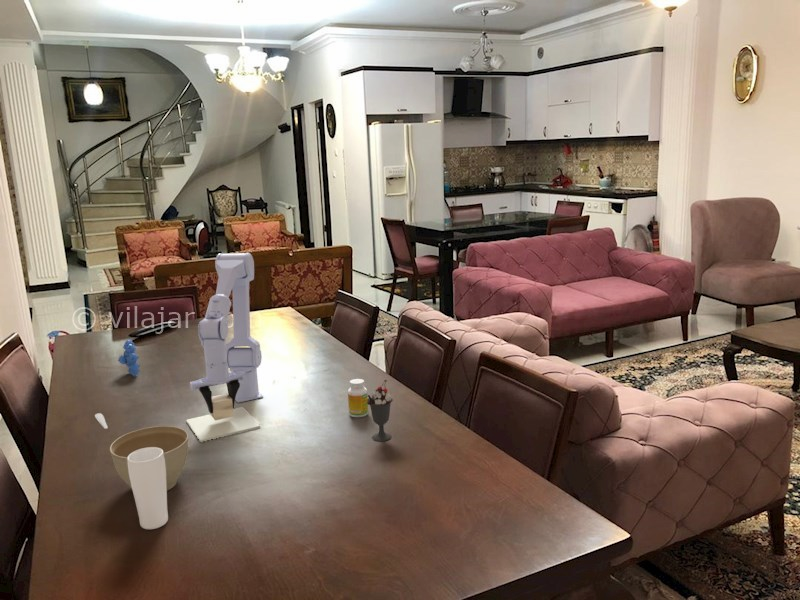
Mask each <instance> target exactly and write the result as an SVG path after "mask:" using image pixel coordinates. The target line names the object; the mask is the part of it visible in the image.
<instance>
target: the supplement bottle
mask: <svg viewBox="0 0 800 600" xmlns="http://www.w3.org/2000/svg"><path fill="white" fill-rule="evenodd" d="M368 395H369V394H368V389H367V388H366V387H365V380H364V379H362V378H354V379H351V380H349V388H348V390H347V401H348V415H349V416H350V417H353V418H364V417H366V416H367V415H368V414H369V405H368V404H367V399H368V398H369V397H368Z"/></svg>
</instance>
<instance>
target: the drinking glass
mask: <svg viewBox="0 0 800 600" xmlns="http://www.w3.org/2000/svg"><path fill="white" fill-rule="evenodd" d="M127 462H128V472H129V478H130V482H131V486H132V488H131V491H132V490H133V491H132V493H133V497H134V501H135V506H136V510H137V515H138V519H139V520H138V521H139V525H140V527H141V528H142V529H144V530H155V529H159V528H161V527H163V526H165V525H166V524H167V522H169V521H168V520H169V513H168V491H167V484H166V465H165V458H164V453H163V450H162V449H160V448H157V447H148V448H142V449H139V450H136V451H134V452H132V453H131V454H130V455H129V456H128V457H127Z"/></svg>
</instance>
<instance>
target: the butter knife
mask: <svg viewBox="0 0 800 600" xmlns="http://www.w3.org/2000/svg"><path fill="white" fill-rule="evenodd" d="M94 418H95V420H96V421H97V422H98V423H99V424H100V425H101V426H102V428H103V429H105V430H106V429H109V428H108V424H107V421H106V419H105V416H104V415H103V414H102V413H101V412H99V413H95V414H94Z"/></svg>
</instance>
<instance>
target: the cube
mask: <svg viewBox="0 0 800 600" xmlns="http://www.w3.org/2000/svg"><path fill="white" fill-rule="evenodd" d="M212 406H213V413H210V412H209V414H210V415H211V416H212V417H213V418H214V420H220V419H224V418H228V417H233V416H234V414H233V409H234V408H233V404H232V398H231V397H230V396H229V395H228V392H227V393H222V394H217V395H214V396H212Z"/></svg>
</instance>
